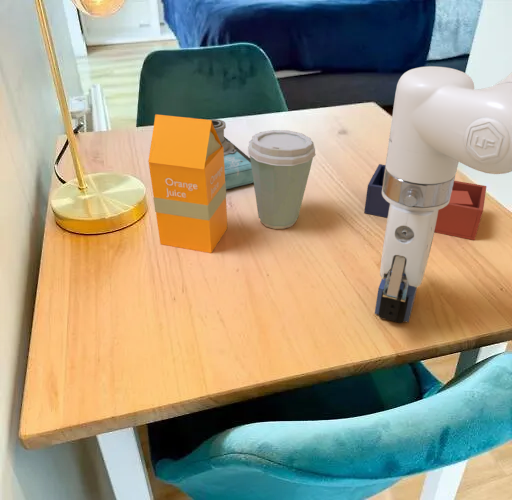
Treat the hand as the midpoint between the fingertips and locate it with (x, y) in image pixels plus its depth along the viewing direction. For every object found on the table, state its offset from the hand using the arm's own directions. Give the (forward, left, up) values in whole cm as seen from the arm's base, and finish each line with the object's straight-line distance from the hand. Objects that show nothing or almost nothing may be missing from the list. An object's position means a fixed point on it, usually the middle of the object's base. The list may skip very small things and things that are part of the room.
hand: (394, 305), depth 67 cm
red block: (-4, -25, 0) cm, 26 cm away
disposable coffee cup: (+22, -15, -1) cm, 27 cm away
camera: (+41, -27, -1) cm, 49 cm away
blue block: (0, 0, 0) cm, 0 cm away
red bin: (-4, -26, -1) cm, 26 cm away
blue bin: (+5, -27, -1) cm, 28 cm away
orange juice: (+33, -5, -1) cm, 34 cm away
